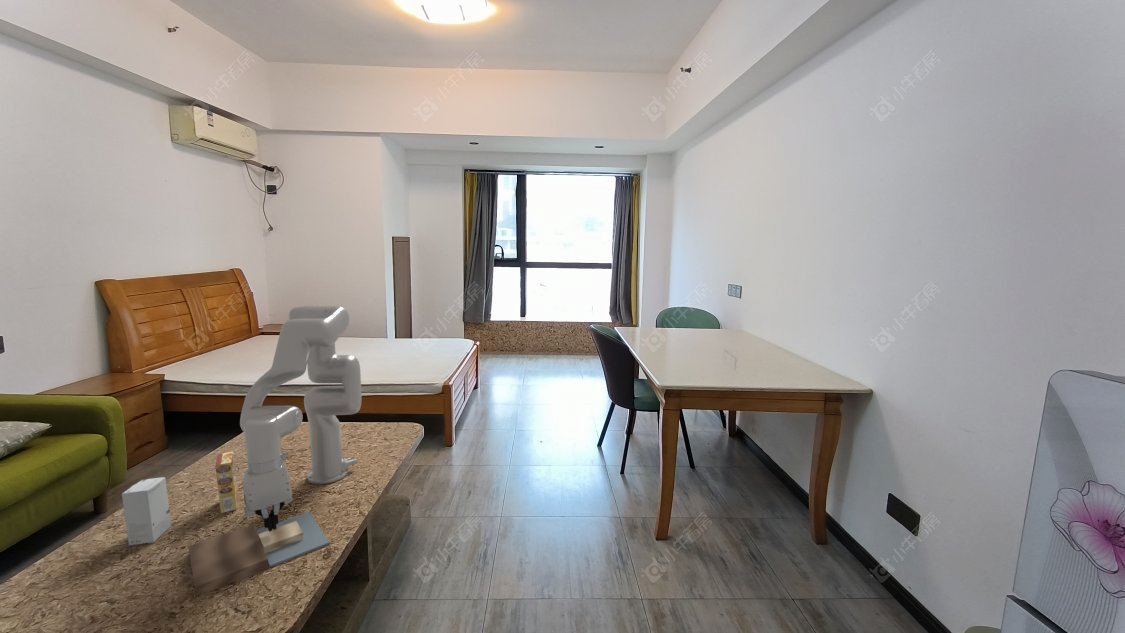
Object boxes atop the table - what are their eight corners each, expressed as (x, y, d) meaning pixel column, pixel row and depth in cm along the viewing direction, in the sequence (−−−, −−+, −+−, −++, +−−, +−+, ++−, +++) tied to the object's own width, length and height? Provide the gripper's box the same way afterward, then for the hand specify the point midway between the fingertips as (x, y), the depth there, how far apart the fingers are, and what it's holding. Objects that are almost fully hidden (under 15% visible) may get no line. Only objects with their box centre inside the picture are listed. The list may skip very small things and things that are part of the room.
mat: (310, 513, 136) (309, 511, 136) (329, 544, 122) (329, 542, 122) (255, 532, 127) (255, 530, 127) (270, 567, 113) (269, 565, 113)
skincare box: (153, 543, 121) (147, 491, 119) (127, 546, 120) (119, 493, 118) (172, 525, 129) (166, 475, 127) (147, 527, 128) (141, 477, 126)
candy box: (237, 509, 137) (232, 461, 135) (219, 514, 135) (214, 465, 133) (238, 496, 145) (234, 450, 142) (221, 500, 142) (217, 453, 140)
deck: (254, 532, 126) (253, 524, 126) (268, 568, 113) (267, 559, 112) (189, 554, 117) (188, 545, 117) (196, 596, 103) (195, 586, 103)
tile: (296, 527, 128) (296, 521, 128) (303, 539, 123) (302, 532, 123) (258, 541, 122) (258, 534, 122) (264, 553, 117) (263, 546, 117)
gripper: (294, 450, 126) (299, 511, 129) (227, 467, 116) (235, 533, 119) (301, 459, 120) (306, 523, 123) (232, 479, 110) (240, 547, 113)
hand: (271, 527), depth 121 cm, fingers closed
